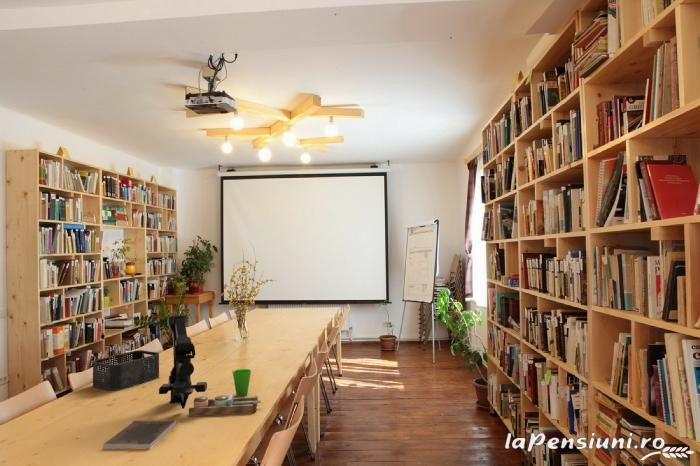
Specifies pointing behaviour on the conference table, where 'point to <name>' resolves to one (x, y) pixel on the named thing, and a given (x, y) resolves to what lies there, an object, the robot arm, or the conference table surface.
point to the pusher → (230, 402)
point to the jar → (201, 401)
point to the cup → (241, 381)
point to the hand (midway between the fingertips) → (183, 408)
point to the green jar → (221, 400)
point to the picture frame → (139, 434)
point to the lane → (226, 407)
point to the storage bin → (125, 370)
